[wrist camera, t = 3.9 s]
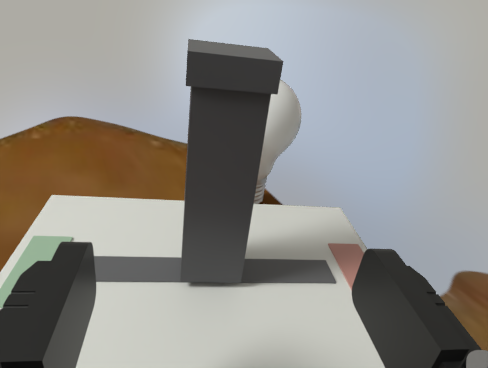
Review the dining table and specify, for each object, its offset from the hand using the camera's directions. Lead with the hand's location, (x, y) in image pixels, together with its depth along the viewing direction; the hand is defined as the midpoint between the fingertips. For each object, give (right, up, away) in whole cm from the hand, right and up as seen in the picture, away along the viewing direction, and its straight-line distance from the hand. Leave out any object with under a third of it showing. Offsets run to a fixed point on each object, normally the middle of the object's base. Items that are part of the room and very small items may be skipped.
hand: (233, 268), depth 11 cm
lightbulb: (+1, +1, +21) cm, 21 cm away
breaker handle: (-1, -2, +8) cm, 9 cm away
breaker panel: (-2, -5, +10) cm, 11 cm away
